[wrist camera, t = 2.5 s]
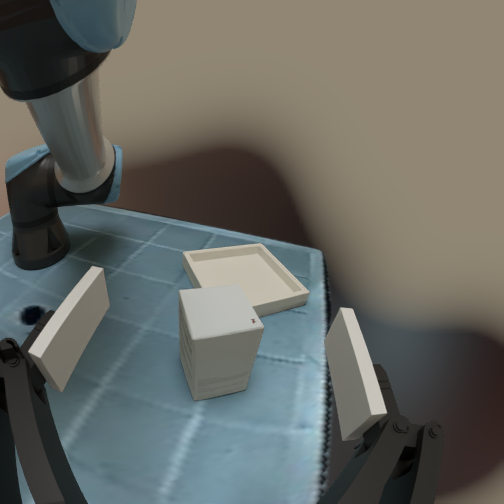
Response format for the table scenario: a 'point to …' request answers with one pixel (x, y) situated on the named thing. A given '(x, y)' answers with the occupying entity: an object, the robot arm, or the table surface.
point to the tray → (247, 276)
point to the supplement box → (217, 339)
